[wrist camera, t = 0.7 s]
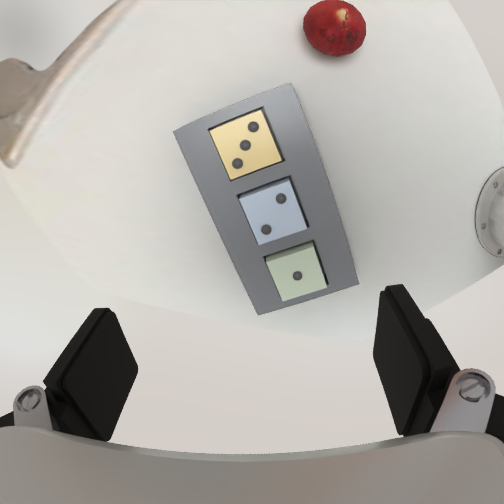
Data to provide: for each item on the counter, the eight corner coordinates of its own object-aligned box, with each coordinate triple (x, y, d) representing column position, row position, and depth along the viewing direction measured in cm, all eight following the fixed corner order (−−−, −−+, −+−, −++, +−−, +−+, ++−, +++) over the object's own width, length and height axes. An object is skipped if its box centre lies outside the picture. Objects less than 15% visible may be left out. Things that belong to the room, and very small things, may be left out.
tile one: (311, 238, 33) (313, 247, 31) (324, 278, 35) (327, 288, 33) (266, 253, 34) (266, 263, 32) (282, 291, 36) (282, 302, 34)
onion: (363, 55, 26) (388, 39, 19) (312, 67, 28) (323, 52, 20) (343, 8, 24) (361, -19, 17) (292, 19, 25) (297, -8, 18)
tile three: (261, 110, 28) (260, 109, 26) (281, 157, 30) (281, 161, 28) (213, 129, 29) (208, 130, 27) (233, 175, 31) (230, 180, 29)
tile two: (288, 176, 30) (289, 181, 28) (305, 221, 32) (307, 229, 30) (241, 194, 31) (238, 199, 29) (259, 237, 33) (258, 246, 31)
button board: (289, 86, 29) (291, 82, 26) (352, 269, 37) (359, 284, 33) (182, 129, 31) (172, 131, 28) (259, 299, 39) (258, 315, 36)
